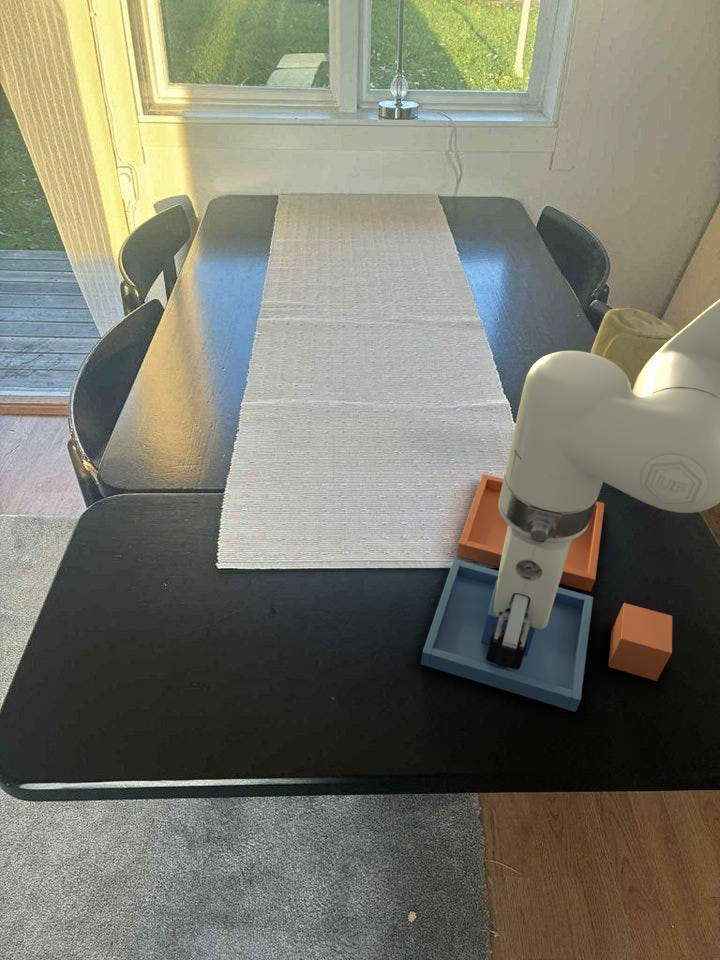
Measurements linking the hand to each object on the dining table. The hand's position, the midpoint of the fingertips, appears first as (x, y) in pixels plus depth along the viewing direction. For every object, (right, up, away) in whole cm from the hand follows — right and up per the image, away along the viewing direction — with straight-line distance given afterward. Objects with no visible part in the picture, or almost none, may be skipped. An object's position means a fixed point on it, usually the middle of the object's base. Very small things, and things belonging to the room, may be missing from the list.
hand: (510, 628), depth 69 cm
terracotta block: (+12, -3, -1) cm, 12 cm away
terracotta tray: (+5, +8, +12) cm, 15 cm away
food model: (+16, +18, +23) cm, 34 cm away
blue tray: (0, -1, +1) cm, 1 cm away
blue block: (0, 0, +1) cm, 1 cm away
